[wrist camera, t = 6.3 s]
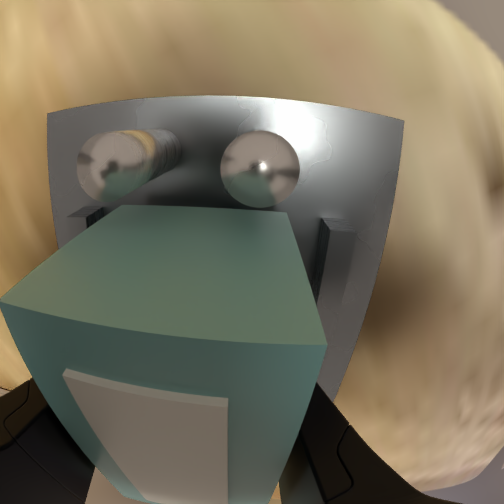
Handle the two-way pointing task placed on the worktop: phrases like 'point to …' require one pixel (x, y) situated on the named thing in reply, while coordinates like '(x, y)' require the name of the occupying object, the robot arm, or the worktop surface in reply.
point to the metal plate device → (244, 182)
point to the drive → (176, 349)
